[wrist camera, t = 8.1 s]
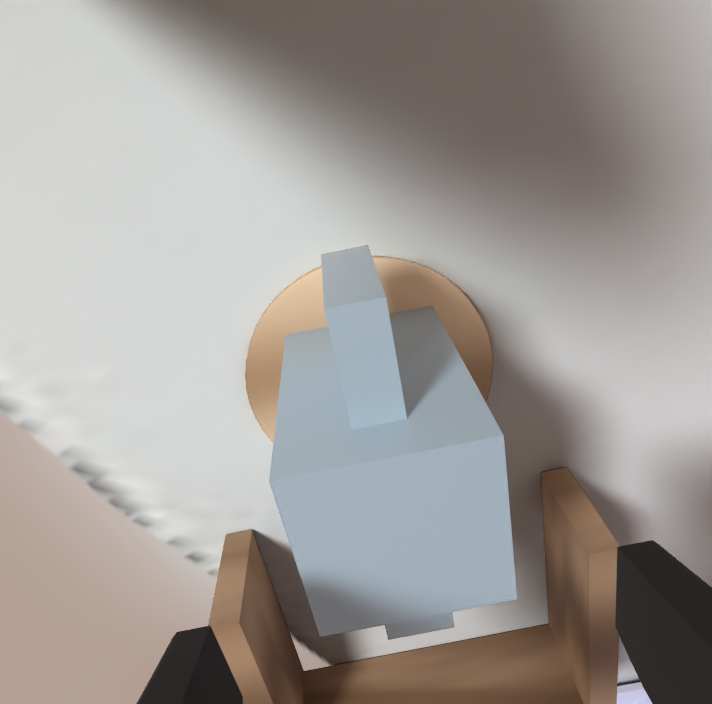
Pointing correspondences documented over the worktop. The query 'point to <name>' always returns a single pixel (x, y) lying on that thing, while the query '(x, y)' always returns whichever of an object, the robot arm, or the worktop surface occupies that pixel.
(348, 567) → the pale blue stepped block
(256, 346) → the coaster
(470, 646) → the cradle
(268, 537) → the worktop surface
